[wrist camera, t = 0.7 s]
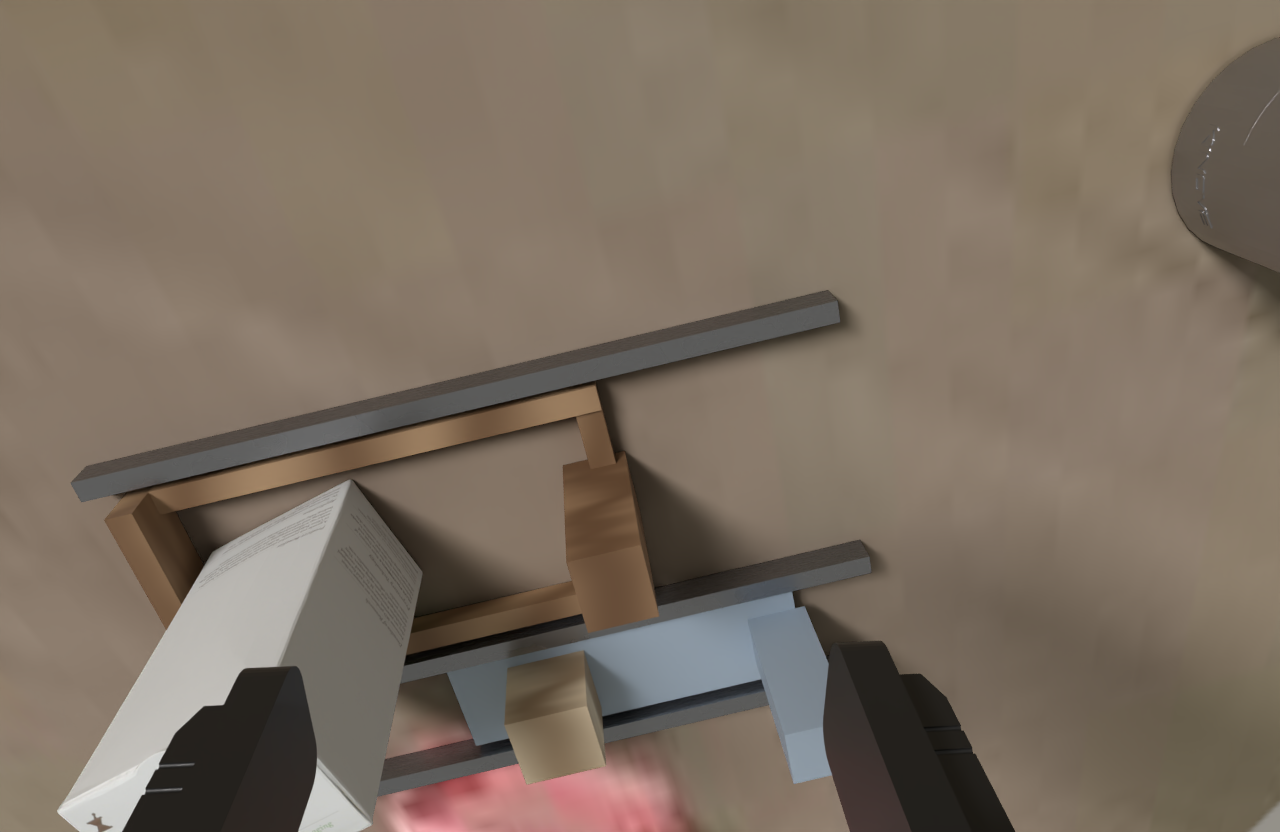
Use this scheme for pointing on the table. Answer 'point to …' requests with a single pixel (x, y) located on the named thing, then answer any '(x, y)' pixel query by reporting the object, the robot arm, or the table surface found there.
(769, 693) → the pale blue bent piece
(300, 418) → the guide rails
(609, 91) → the table surface
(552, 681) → the beech cube
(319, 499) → the skincare box
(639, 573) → the walnut frame
